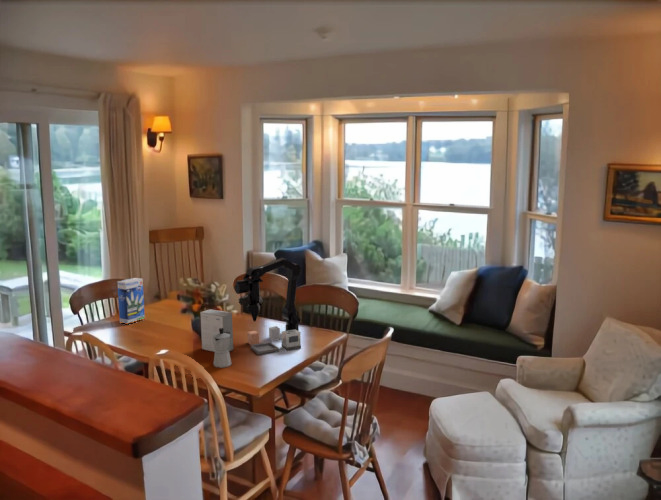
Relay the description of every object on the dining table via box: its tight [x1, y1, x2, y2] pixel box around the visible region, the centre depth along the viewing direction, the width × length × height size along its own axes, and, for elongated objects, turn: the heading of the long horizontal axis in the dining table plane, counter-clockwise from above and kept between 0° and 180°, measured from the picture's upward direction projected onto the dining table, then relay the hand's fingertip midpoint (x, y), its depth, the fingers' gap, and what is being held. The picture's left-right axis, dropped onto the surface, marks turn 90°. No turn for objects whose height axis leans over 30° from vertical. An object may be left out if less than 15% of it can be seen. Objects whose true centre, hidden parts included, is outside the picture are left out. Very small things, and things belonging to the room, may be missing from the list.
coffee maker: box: [213, 328, 232, 369], centre depth 271 cm, size 15×9×18 cm, turn 164°
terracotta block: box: [247, 330, 260, 346], centre depth 302 cm, size 4×4×6 cm
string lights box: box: [116, 277, 146, 323], centre depth 338 cm, size 13×8×26 cm, turn 149°
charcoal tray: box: [250, 341, 280, 356], centre depth 291 cm, size 11×11×2 cm
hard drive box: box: [199, 308, 234, 353], centre depth 290 cm, size 16×8×20 cm, turn 59°
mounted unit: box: [281, 329, 302, 352], centre depth 294 cm, size 8×7×8 cm
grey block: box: [268, 325, 281, 341], centre depth 309 cm, size 4×4×6 cm
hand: (255, 318), depth 305 cm, fingers open, 9 cm apart
